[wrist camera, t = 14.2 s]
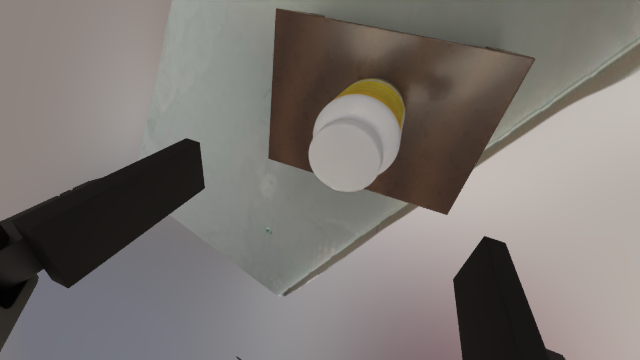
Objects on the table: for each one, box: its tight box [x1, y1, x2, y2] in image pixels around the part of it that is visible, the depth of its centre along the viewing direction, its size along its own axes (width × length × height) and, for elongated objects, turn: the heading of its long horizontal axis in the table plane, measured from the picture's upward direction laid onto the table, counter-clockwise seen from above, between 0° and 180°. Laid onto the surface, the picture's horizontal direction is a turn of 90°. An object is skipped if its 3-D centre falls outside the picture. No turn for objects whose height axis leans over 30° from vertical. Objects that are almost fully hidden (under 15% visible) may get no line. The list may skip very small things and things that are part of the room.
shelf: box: [268, 9, 535, 215], centre depth 30 cm, size 22×16×10 cm
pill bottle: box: [309, 78, 405, 192], centre depth 21 cm, size 6×6×12 cm
